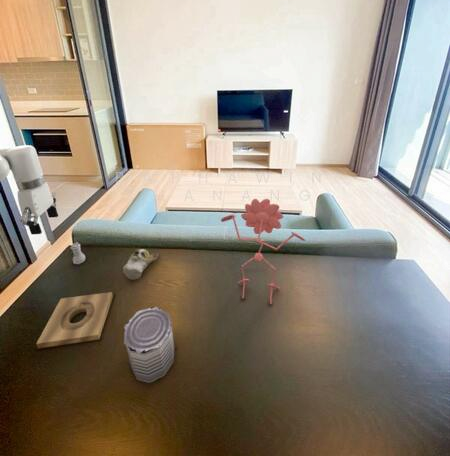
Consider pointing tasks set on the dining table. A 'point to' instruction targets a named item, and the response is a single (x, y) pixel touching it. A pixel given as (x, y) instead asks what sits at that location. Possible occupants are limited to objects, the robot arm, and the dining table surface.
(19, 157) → the robot arm
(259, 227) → the figurine
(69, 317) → the wooden board with hole
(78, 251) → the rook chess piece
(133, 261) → the ceramic sculpture
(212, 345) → the dining table surface
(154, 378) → the can
